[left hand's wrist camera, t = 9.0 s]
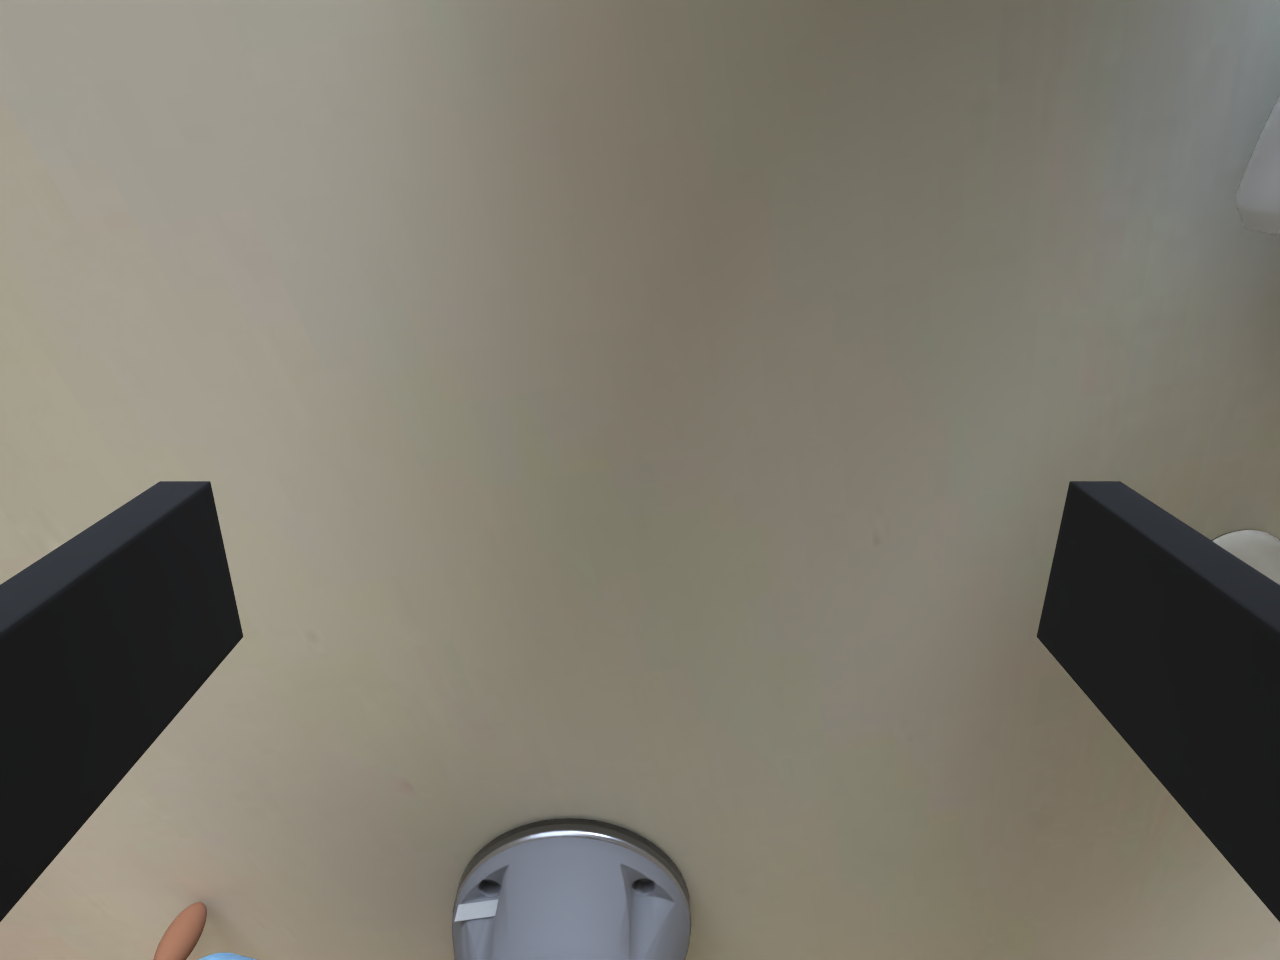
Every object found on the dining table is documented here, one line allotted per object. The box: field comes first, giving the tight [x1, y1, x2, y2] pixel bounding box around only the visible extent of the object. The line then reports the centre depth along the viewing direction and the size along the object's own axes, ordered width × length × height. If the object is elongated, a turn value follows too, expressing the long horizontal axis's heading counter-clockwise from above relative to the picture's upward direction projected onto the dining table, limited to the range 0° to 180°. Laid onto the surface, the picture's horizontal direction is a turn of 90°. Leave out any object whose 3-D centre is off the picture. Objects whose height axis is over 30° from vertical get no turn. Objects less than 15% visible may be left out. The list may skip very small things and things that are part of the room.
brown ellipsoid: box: [153, 902, 207, 960], centre depth 50 cm, size 2×2×5 cm
